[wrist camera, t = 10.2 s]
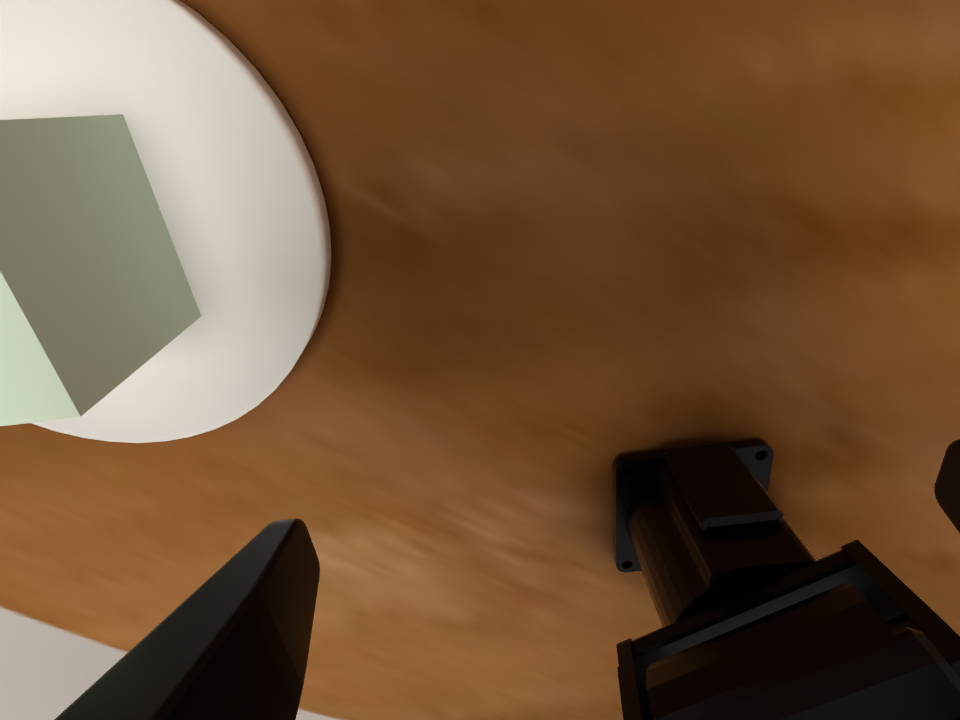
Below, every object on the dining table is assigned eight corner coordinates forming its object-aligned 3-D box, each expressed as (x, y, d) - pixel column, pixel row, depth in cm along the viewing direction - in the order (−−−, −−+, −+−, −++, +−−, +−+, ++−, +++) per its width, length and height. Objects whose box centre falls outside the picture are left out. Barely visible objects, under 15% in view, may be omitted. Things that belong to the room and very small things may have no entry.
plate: (373, 395, 20) (367, 417, 19) (0, 440, 21) (-32, 464, 19) (250, -100, 14) (227, -121, 12) (-298, -17, 14) (-379, -29, 13)
